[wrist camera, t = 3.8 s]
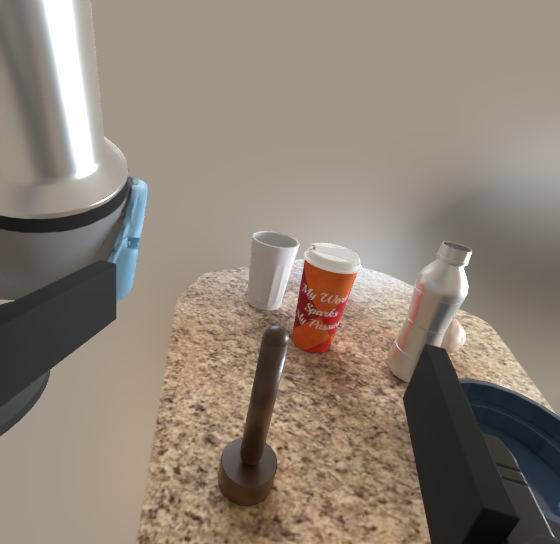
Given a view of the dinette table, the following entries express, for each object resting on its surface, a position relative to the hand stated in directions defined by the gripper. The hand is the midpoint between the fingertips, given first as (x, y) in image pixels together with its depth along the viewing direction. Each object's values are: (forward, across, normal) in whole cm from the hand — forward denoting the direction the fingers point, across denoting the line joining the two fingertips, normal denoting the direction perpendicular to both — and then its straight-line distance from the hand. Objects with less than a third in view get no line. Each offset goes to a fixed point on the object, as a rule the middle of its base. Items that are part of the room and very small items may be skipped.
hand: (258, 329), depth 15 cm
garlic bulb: (+43, +24, -22) cm, 54 cm away
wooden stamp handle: (+10, 0, -22) cm, 24 cm away
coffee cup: (+35, +3, -22) cm, 41 cm away
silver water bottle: (+33, +18, -22) cm, 43 cm away
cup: (+44, -6, -22) cm, 49 cm away
